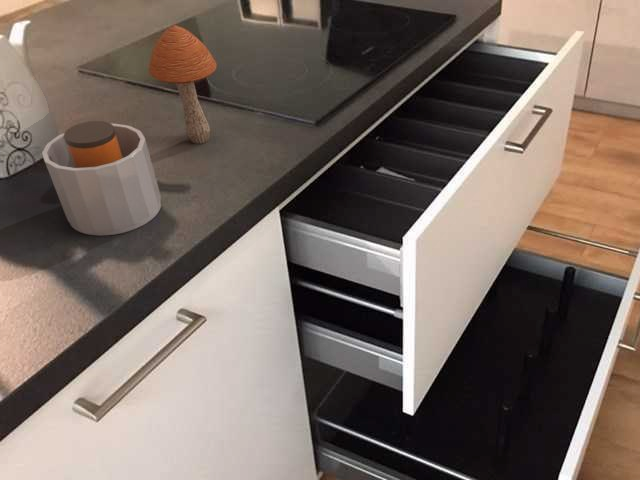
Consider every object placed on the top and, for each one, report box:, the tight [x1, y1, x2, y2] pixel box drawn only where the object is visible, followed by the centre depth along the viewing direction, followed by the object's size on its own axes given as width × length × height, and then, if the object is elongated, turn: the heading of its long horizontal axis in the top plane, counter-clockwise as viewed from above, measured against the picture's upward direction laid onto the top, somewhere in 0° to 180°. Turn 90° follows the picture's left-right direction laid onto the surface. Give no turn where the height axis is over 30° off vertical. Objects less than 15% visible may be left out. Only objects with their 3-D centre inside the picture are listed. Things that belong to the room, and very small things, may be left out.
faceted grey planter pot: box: [41, 122, 162, 237], centre depth 71 cm, size 10×10×8 cm
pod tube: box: [63, 120, 123, 168], centre depth 70 cm, size 5×5×9 cm
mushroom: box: [148, 24, 218, 144], centre depth 81 cm, size 8×8×15 cm
